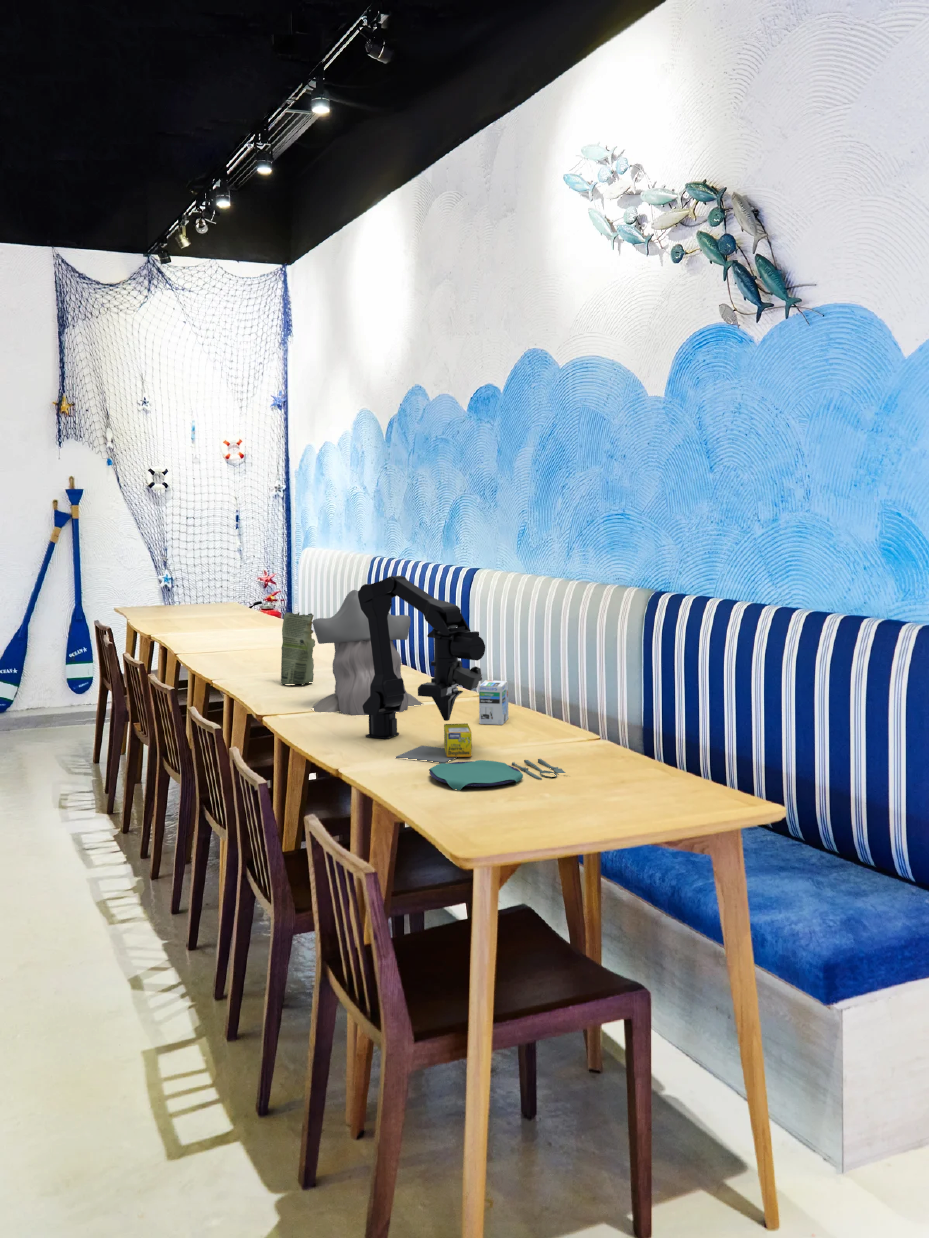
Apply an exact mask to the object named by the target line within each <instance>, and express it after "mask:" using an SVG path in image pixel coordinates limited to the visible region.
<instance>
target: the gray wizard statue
mask: <svg viewBox="0 0 929 1238" xmlns="http://www.w3.org/2000/svg"><path fill="white" fill-rule="evenodd" d="M358 591H359V590H358V589H357V590H356V589H352V590H350V592H348V593H347V595H346V596H345V598H344V600H343V602H342V604H341V606H340V607H339V609H338V611H337V612H336V613H335V614H334V615H333V616H330V617H327V618H326V617H325V618H323V617H322V618H321V617H319V618H313V619H312V622H313V623H312V628H313V631H314V634H315V637H316V640H317V643H318V644H320V645H323V644H333V645H334V657H333V659H332V674H333V676H334V677H333V678H334V680H335V684H334V693H332V694H329V695H327V696H325V697H323V698H321V699H320V700H318V701H317V703H314V705H313V706H312V707H311V708H314V711H315V712H314V711H313V712H314V713H321V712H328V713H338V712H339V713H341V714H342V713H343V714H342V715H349V714H350V716H356V715H369V714H364V711H363V707H362V706H363V704H364V703H365V702H366V701H367V699H368V698H369V697H370V685H371V683H372V680H373V678H374V675H375V673H374V664H373V656H372V647H371V639H370V631H369V622H368V618H367V617H366V615H365V614H364V613H363V611H362V610H361V607H360V603H359V599H358ZM388 627H389V635H390V644H391V652H392V660H393V669H394V673H395V674H396V676H397V677H398V679H399V678H402V679H403V676H402V672H401V671H402V670H401V669H402V668H401V667H402V658H401V654H400V653H399V652H398V650H397V648H396V647H395V645H394V641H402V640H403V641H407V640H408V639H409V634H410V628H411V616H409V615H408V614H407V615H406V614H400V615H397V614H396V615H394V614H391V613H390V612H389V614H388ZM404 691H405V694H404V700H403V701H402V704H401V708H400V711H396V712H399V713H404V712H405V711H408V709H409V707H408V706H414V705H420V706H422V705H421V704H423V705H424V703H423V702H421V701H419V700H418V699H417V698H416V697H414V696H413V695H412V694H410V693H408V691H407V690H406V688H405V685H404ZM414 707H415V706H414ZM404 710H405V711H404ZM403 711H404V712H403ZM396 712H395V714H397V713H396Z"/></svg>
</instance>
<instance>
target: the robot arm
mask: <svg viewBox="0 0 929 1238" xmlns="http://www.w3.org/2000/svg"><path fill="white" fill-rule="evenodd" d="M357 591H358V599H359V603H360V607H361V610H362V611H363V613H364V614H365V615H366V617H367V618H368V622H369V631H370V639H371V647H372V656H373V664H374V673H375V675H374V678H373V680H372V683H371V685H370V697H369V698H368V699H367V701H366V702H365V703H364V704H363V706H362V707H363V711H364V714H369V716H368V733H367V734H365V737H366V738H374V739H383V740H384V739H385V740H387V739H388V740H389V739H391V738H393V737H396V736H398V735H399V734H400V732H398V718H397V717H396V713H395V712H396V711H400V708H401V704H402V701H403V700H404V694H405V691H404V686H405V683H404V679H403V677H402V678H399V679H398V677H397V676H396V674H395V673H394V669H393V660H392V652H391V644H390V635H389V627H388V614H389V613H390V611H391V609H392V607H393V604H392V602H393V601H392V600H393V598H395V597H399V598H400V599H401V600H403V601H404V602H405V603H407V604H409V605H410V606H411V607H413V609H416V610H417V611H419V612H420V613H421V614H422V615H423V617H424V620H425V621H426V622H427V624H429V626H431V628H433V629H432V630H431V631H430V632H428V633H427V635H426V636H427V638H430V639H431V638H432V639H433V644H434V645H433V655H434V657H433V661H430V666H431V667H433V668H434V671H433V673H434V675H433V676H434V677H432V678H431V679H430V682H428V681H427V682H424V683H420V685H419V686H418V687H417V696H418V697H425V698H432V700H433V701H434V703H435V705H436V707H437V709H438V711H439V714H440V715H441V717H442V719H443V721H446V722H448V721H450V719H451V716H452V712H453V708H454V704H455V702H456V700H457V698H458V697H459V696H460V695H461V694H463V693H464V691H463V690H459V687H458V686H461V687H463V688H464V689H465V690H469V691H472V690H473V689H477V688H478V687H479V682H481V681H482V680H483V678H482V676H483V674H482V670H481V667H478V666H473V667H471V668H466V667H463V662H462V660H467V661H469V660H470V661H481V659H483V656H484V655H485V653H486V644H485V642H484V639H483V638H482V637H481V636H480V632H479V631H476V630H475V631H474V630H473V631H471V629H470V627H469V625H468V622H466V620H465V618H464V616H463V614H462V610H461V608H460V607H459V606H458V605H456V604H454V603H451V602H449V601H445V600H441V599H438V598H435V597H434V596H432V595H431V594H429V593H428V592H426V591H424V590H423V589H421V588H420V587H418V586H417V585H416V584H414V583H412V582H411V581H410V580H408V579H407V577H405V576H404V575H392V576H391V575H389V576H388V577H386V578H384V579H382V580H379V581H376V582H373V583H365V584H363V585H362V586H361V587H360V588H359V590H357ZM460 659H461V660H460Z"/></svg>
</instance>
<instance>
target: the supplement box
mask: <svg viewBox="0 0 929 1238" xmlns="http://www.w3.org/2000/svg"><path fill="white" fill-rule="evenodd" d="M443 731H444V732H443V734H444V735H443V738H444V740H443V744H444V746H443V748H445V752H446V755H447V757H458V758H469V757H472V739H473V738H472V736H473V735H472V734H473V733H472V730H471V727H470V725H469V724H468V723H465V722H464V723H445V724H444V725H443Z"/></svg>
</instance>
